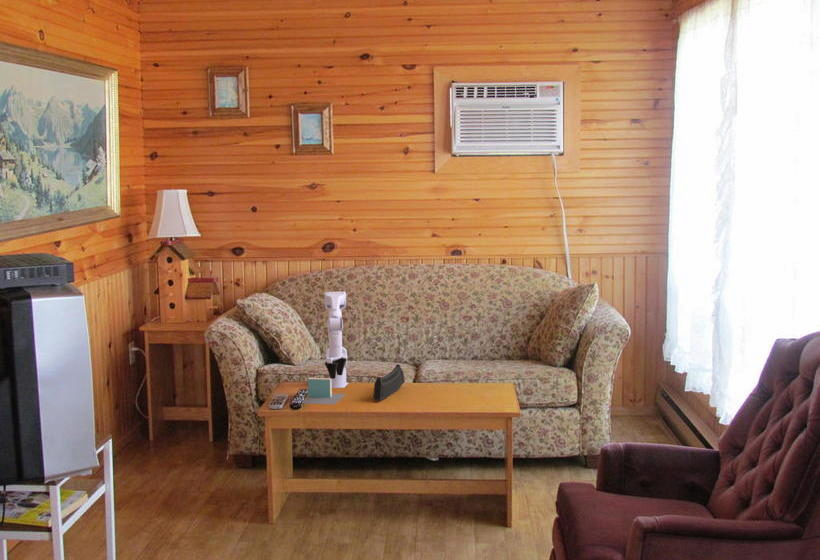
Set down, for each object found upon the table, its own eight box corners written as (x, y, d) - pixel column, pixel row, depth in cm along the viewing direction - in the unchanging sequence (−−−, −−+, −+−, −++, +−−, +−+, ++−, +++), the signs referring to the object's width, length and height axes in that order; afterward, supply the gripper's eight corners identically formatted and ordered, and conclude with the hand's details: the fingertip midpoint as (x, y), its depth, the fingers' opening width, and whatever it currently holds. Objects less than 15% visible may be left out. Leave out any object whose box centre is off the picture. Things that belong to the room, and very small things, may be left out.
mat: (302, 393, 410) (302, 392, 409) (345, 394, 406) (345, 394, 406) (289, 403, 392) (289, 402, 392) (334, 405, 388) (334, 404, 388)
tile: (309, 395, 404) (309, 377, 403) (331, 396, 402) (331, 378, 401) (308, 396, 402) (307, 379, 401) (330, 397, 400) (329, 379, 399)
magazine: (377, 383, 388) (401, 350, 414) (370, 383, 389) (394, 350, 415) (382, 418, 394) (405, 383, 420) (375, 417, 396) (398, 383, 421)
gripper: (337, 348, 386) (338, 380, 387) (350, 343, 400) (351, 374, 401) (322, 348, 388) (322, 379, 389) (335, 342, 402) (336, 373, 403)
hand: (336, 376), depth 395 cm, fingers open, 7 cm apart
